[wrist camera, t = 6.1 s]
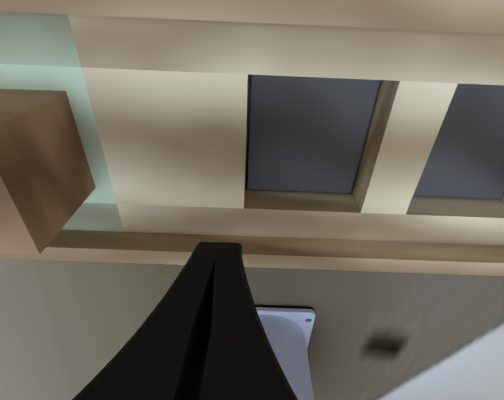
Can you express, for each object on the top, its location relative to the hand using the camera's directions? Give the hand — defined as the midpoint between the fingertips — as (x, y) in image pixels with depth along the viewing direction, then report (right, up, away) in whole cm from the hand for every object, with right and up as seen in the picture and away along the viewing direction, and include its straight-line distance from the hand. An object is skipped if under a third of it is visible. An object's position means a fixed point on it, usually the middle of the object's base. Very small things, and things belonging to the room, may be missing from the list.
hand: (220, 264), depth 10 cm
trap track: (+2, +6, +7) cm, 9 cm away
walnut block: (-10, +5, +5) cm, 12 cm away
